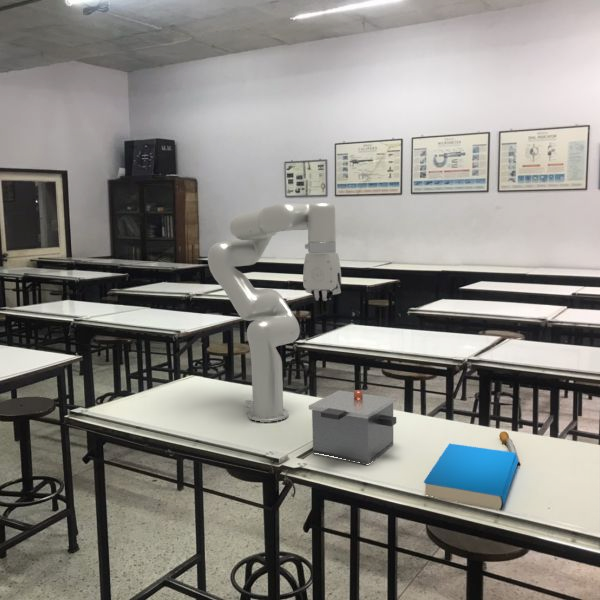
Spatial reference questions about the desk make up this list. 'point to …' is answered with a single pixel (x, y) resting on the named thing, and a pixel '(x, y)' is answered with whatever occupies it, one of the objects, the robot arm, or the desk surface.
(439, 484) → the book
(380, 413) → the grey open box
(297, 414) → the desk surface
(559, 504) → the desk surface
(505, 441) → the orange and grey rod
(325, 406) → the cooker lid
